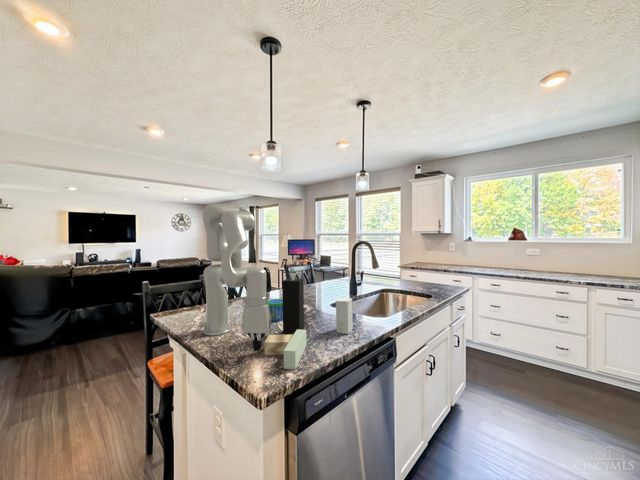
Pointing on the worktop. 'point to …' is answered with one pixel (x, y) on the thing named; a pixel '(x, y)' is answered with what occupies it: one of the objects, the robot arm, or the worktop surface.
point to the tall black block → (293, 305)
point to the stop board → (295, 349)
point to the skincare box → (344, 315)
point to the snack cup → (276, 309)
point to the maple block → (276, 344)
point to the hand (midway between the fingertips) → (257, 349)
